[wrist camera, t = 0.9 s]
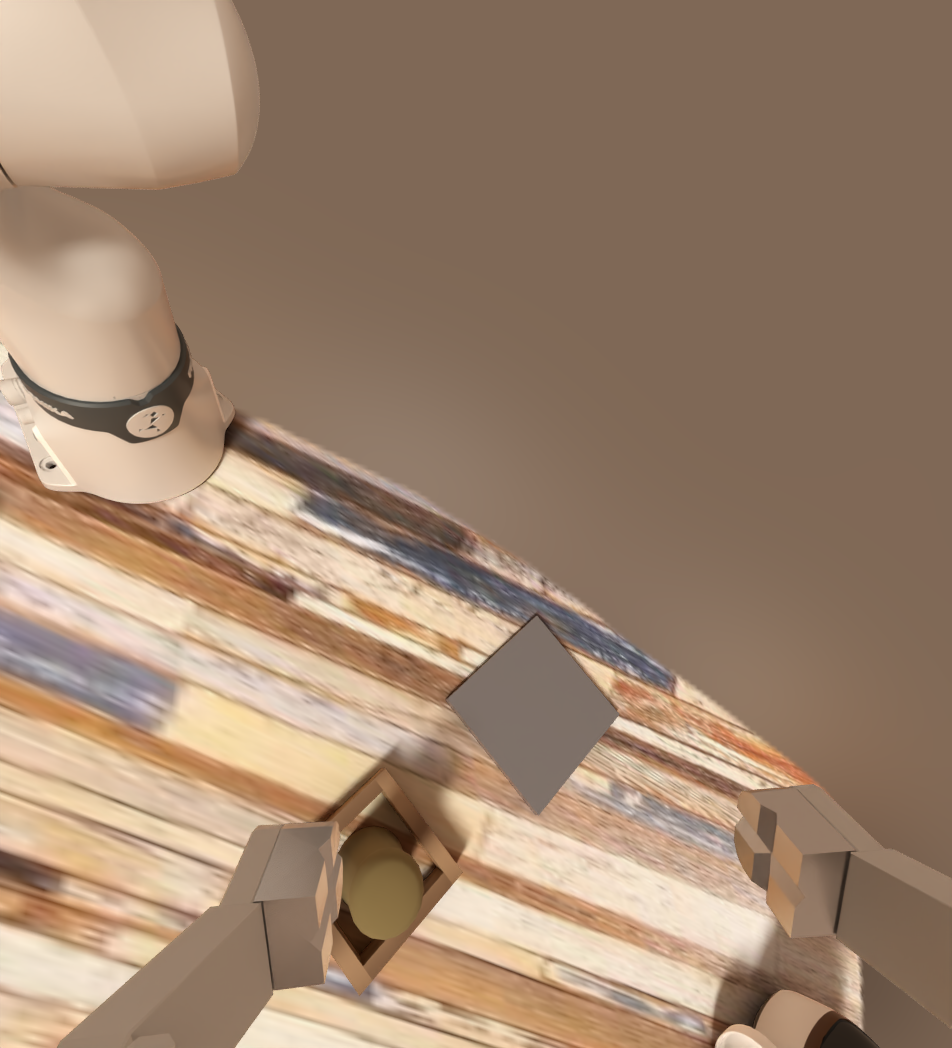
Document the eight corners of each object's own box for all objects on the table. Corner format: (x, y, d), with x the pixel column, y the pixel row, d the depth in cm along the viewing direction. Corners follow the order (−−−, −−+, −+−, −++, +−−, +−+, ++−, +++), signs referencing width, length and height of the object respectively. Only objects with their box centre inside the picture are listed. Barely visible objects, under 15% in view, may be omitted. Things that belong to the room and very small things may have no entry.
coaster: (445, 699, 50) (447, 698, 50) (534, 617, 57) (536, 615, 57) (535, 814, 48) (538, 815, 48) (615, 714, 55) (619, 714, 55)
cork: (407, 825, 45) (436, 843, 35) (401, 908, 42) (431, 951, 33) (338, 826, 43) (350, 845, 34) (328, 912, 40) (337, 959, 31)
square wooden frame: (276, 867, 40) (275, 873, 38) (381, 768, 46) (385, 768, 44) (356, 982, 39) (359, 995, 37) (454, 866, 44) (462, 872, 42)
